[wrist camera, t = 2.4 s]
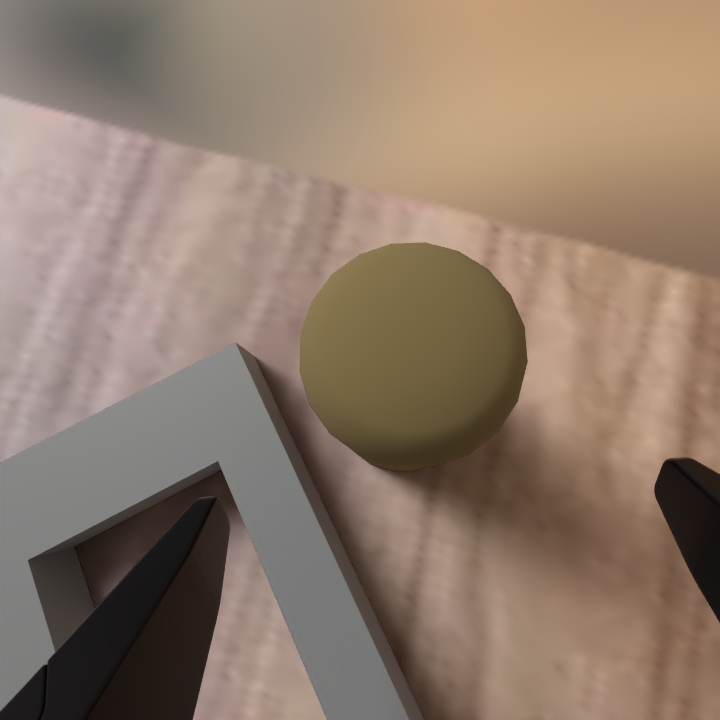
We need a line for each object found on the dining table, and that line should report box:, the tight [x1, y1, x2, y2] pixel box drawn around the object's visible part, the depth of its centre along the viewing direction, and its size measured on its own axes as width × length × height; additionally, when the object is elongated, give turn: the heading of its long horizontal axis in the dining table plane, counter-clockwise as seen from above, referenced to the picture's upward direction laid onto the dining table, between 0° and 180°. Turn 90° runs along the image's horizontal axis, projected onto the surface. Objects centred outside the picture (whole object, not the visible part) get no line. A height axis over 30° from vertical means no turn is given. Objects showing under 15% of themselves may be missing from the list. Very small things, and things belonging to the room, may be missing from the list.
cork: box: [300, 243, 527, 471], centre depth 14 cm, size 6×6×11 cm
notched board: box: [0, 343, 424, 720], centre depth 17 cm, size 20×13×2 cm, turn 27°
